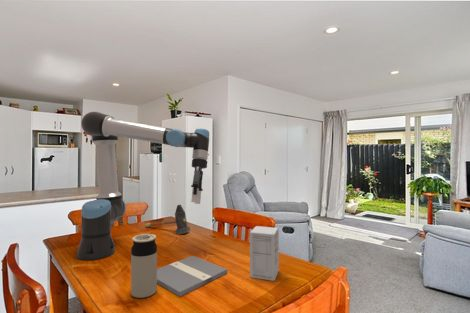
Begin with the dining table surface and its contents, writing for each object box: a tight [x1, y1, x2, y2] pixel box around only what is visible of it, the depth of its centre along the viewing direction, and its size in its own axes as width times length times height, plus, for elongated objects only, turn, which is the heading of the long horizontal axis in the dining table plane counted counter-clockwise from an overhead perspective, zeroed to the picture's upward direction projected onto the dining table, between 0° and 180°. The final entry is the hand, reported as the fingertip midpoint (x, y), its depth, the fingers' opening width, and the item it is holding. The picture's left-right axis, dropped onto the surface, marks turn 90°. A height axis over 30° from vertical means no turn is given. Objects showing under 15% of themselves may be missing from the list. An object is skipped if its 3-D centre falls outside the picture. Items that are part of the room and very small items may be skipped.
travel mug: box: [130, 233, 158, 299], centre depth 85 cm, size 8×8×18 cm
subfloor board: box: [157, 255, 228, 297], centre depth 98 cm, size 20×22×2 cm
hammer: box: [144, 204, 191, 235], centre depth 155 cm, size 6×16×30 cm
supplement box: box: [249, 225, 280, 282], centre depth 99 cm, size 10×9×17 cm
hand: (195, 203), depth 125 cm, fingers open, 13 cm apart
